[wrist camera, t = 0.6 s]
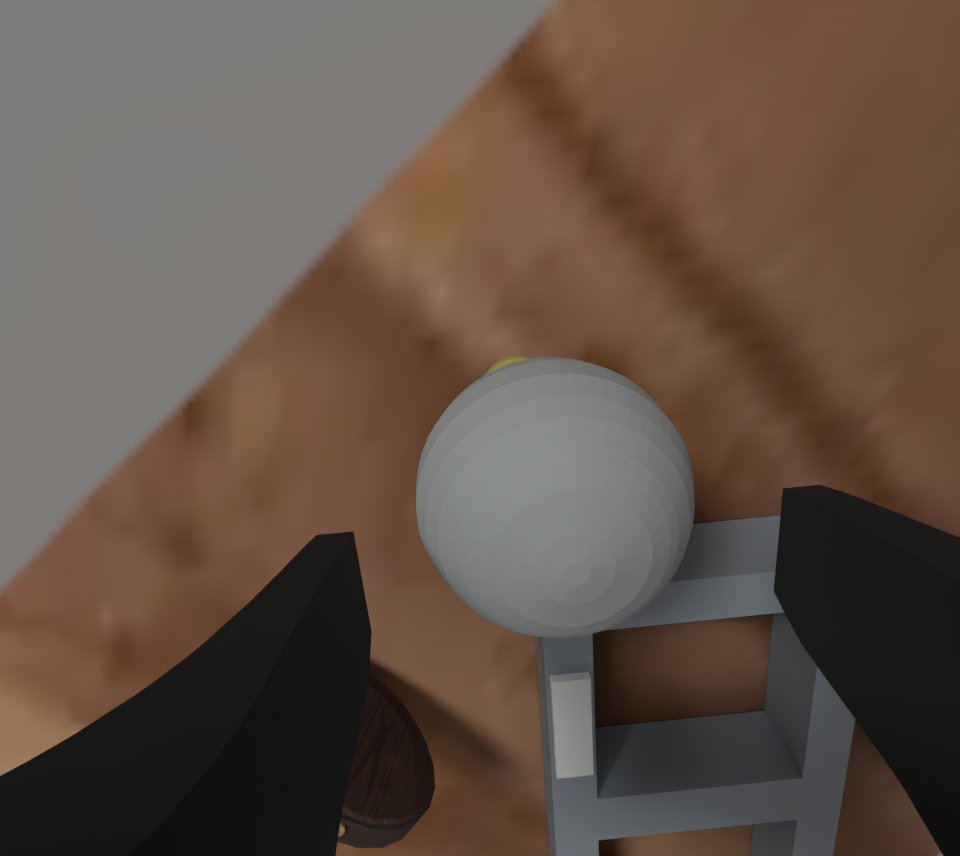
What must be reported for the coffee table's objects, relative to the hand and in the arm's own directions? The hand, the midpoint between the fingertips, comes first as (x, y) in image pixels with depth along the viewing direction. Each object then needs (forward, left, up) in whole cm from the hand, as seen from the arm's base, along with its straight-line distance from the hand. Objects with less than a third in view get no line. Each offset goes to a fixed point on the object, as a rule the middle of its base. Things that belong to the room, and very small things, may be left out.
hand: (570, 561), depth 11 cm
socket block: (-5, +15, -10) cm, 19 cm away
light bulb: (0, 0, -10) cm, 10 cm away
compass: (+8, +12, -10) cm, 17 cm away
